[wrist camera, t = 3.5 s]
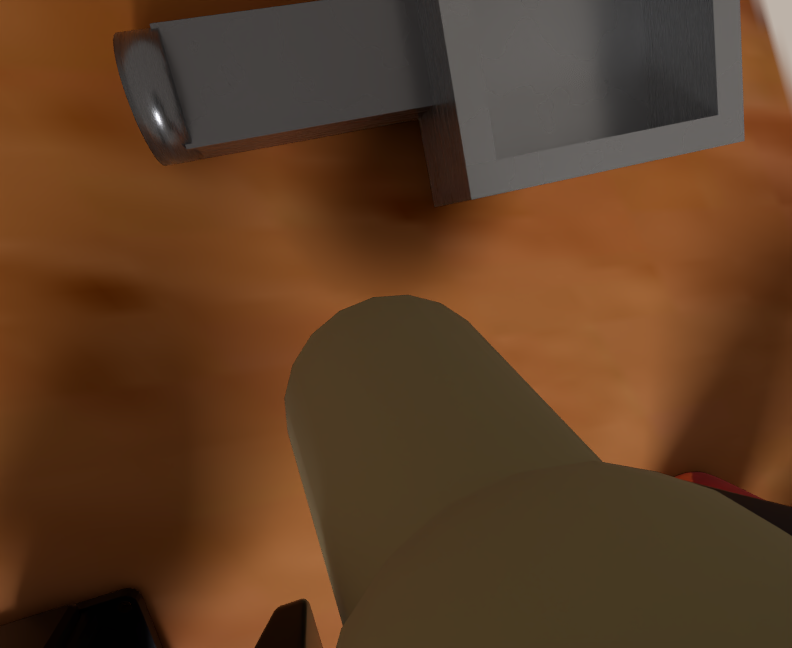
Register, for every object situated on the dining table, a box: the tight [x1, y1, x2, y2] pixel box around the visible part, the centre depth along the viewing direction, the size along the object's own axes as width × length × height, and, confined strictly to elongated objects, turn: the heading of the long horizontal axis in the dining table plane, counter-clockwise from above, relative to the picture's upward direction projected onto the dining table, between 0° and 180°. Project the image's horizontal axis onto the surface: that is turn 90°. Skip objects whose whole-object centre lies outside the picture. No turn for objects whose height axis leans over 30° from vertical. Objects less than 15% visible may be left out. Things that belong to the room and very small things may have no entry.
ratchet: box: [113, 0, 744, 207], centre depth 16 cm, size 10×19×5 cm, turn 102°
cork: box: [285, 295, 792, 648], centre depth 8 cm, size 6×6×11 cm
